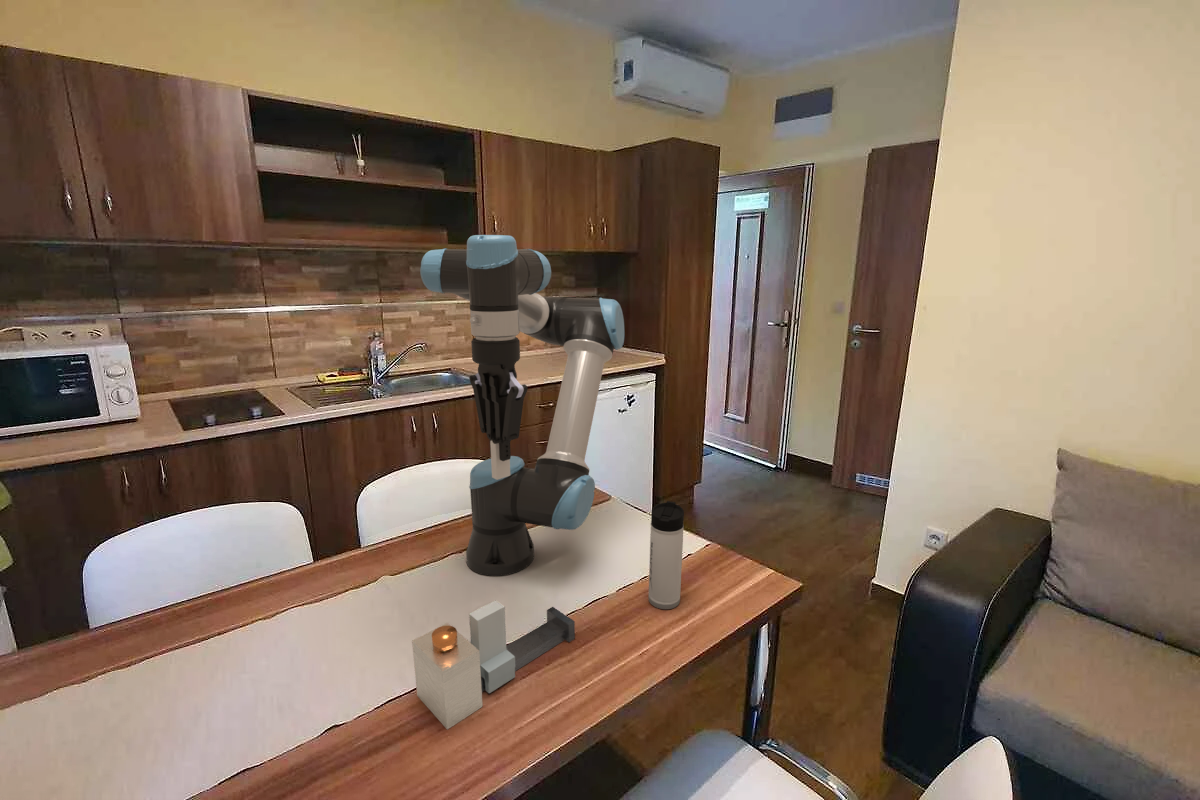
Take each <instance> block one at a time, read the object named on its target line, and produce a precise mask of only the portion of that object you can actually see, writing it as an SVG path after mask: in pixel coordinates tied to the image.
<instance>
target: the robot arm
mask: <svg viewBox="0 0 1200 800" xmlns="http://www.w3.org/2000/svg"><path fill="white" fill-rule="evenodd" d="M517 246H518V245H517V241H516V239H515V237H514V236H512V235H507V234H506V235H505V234H504V235H503V234H475V235H474V234H473V235H471V236H470V237H469V238H468V239H467V241H466V249H465V248H462V249H461V248H460V249H459V248H457V249H455V248H454V249H453V248H442V249H431V250H429V251H427V252H426V253H425V254H424V255H423V256H422V258H421V262H420V269H419V270H420V271H419V272H420V273H419V274H420V278H421V281H422V283H423V285H424V287H426V289H427V290H428V291H430V292H433V293H434V292H435V293H441V294H448V293H449V294H453V295H455V296H458V297H459V298H462V299H464V300H466V301H468V302H469V314H470V318H469V323H470V334H471V335H472V336H473V338H472V340H471V341H470V342H471V343H470V345H471V360H472V361H473V363H475V364H478V366H477V373H476V374H472V375H470V376H469V382H470V385H471V387H472V390H473V396H474V401H475V406H476V412H477V416H478V423H479V428H480V432H481V433H482V434H486V437H487V439H488V440H489V454H490V458H489V459H485V460H483V461H479V463H477V464H475V465H474V466H473V467H472V469H471V471H470V473H469V486H468V487H469V490H470V504H471V506H470V507H471V522H472V523H471V524H472V531H471V533H470V537H469V541H468V546H467V548H466V552H465V557H466V558H465V559H466V561H465V562H466V565H467V567H468V568H469V569H471V571H472V572H475V573H477V574H481V575H484V576H494V577H495V576H496V577H497V576H499V577H500V576H506V575H507V576H508V575H510V574H514V573H518V572H521V571H522V570H524V569H526V568H527V567H528V566H530V564H532V562H533V561H534V559H535V545H534V542H533V540H532V537H531V535H530V532H529V530H528V527H527V525H526V524H530V525H534V526H535V525H536V526H541V527H547V528H553V529H554V530H569V531H573V530H576V529H578V528H580V527H581V526H582V525H583V523H584V522H586V519H587V517H588V516H589V513H590V511H591V508H592V506H593V502H594V498H595V489H596V484H595V483H596V482H595V480H594V478H593V477H592V476H591V475H590V467H589V466H588V465H587V464H586V462H585V459H586V453H587V449H588V445H589V440H590V434H591V430H592V424H593V421H594V417H595V411H596V405H597V399H598V395H599V390H600V385H601V380H602V376H603V371H604V367H605V363H607V362H609V361H610V360H612V358H613V353H614V350H615V351H618V350H621V349H622V348H623V346H624V342H625V319H624V314H623V309H622V307H621V304H620V303H619V302H618V301H617V300H616V299H613V298H612V299H611V298H602V297H599V298H591V297H590V298H589V297H567V296H566V297H565V296H563V297H562V296H555V297H554V296H543V295H541V294H539V292H541V291H543V290H544V289H545V288H546V287H547V286H548V285H549V283H550V281H551V278H552V268H551V264H550V261H549V259H548V258H547V257H546V256H545V255H544V254H543V253H541V252H539V251H538V250H533V249H531V248H523V249H521V248H520V249H518V247H517ZM520 333H523V334H524V335H527V336H528V337H531V338H533V339H536V340H538V341H541V342H544V343H546V344H548V345H549V344H550V345H553V346H562V347H563V351H564V352H565V353H566V355H567V357H566V358H567V359H566V362H565V367H564V372H563V375H562V380H561V385H560V389H559V393H558V396H557V397H558V398H557V401H556V402H557V403H556V407H555V411H554V416H553V420H552V425H551V429H550V433H549V438H548V442H547V446H546V451H545V453H544V454H542V455H540V456H539V457H538V458H537V459H536V463H535V467H534V468H531V467H525V465H526V464H525V462H524V459H523V458H521V457H520V456H515V455H512V454H511V441H513V440H516V439H519V438H520V430H521V423H522V417H523V416H522V414H523V407H524V399H525V397H526V395H527V392H528V390H529V389H528V385H526V384H521V383H520V382H519V380H517V378H518V374H517V371H516V368H515V367H516V366H515V365H516V363H517V362H519V361H520V359H521V349H520V348H521V347H520V344H521V343H520V339H519V338H518V337H516V336H518V335H520Z"/></svg>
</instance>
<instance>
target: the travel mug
mask: <svg viewBox="0 0 1200 800" xmlns="http://www.w3.org/2000/svg"><path fill="white" fill-rule="evenodd" d="M676 503H677V502H675V501H669V500H667V501H666V502H662V503H658V504H656V505H655V506H653V507H652V508H651V511H650V512H651V516H650V517H651V518H650V537H649V538H650V540H649V543H650V544H649V570H648V572H649V573H648V598H647V599H648V602H649V603H650V604H651V606H654V607H655V608H657V609H660V610H671V609H675V608H676V607H678V606H679V604H680V602H681V589H682V587H681V586H682V585H681V584H682V564H683V547H684V546H683V544H684V527H685V526H684V519H685V518H684V517H685V511H684V510H685V509H683V507H682V506H680V505H679V504H676Z"/></svg>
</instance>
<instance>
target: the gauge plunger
mask: <svg viewBox="0 0 1200 800" xmlns="http://www.w3.org/2000/svg"><path fill="white" fill-rule="evenodd" d="M440 626H441V627H440ZM440 626H439V628H438V627H437V629H436V628H434V629H435V630H434V629H433V630H434V631H433V633H432V645H433V648H434V649H436V650H438V651H440V652H441V653H444V652H446V651H448V650H449V649H451V648H453V647H454V646H455V645H456V644H457V641H458V640H457V631H458V630H457V628H456V627H455V626H453V625H451V626H442V625H440Z"/></svg>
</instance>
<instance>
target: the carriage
mask: <svg viewBox="0 0 1200 800" xmlns="http://www.w3.org/2000/svg"><path fill="white" fill-rule="evenodd" d="M505 608H506V606H504V605H503V604H502V603H500V602H499V601H498V600H496V599H495V600H494V601H491V602H489V603H488V604H486V605H483V606H482V607H480V608H478V609H475V610H474V611H472V612H470V613H468V615H469V617H468V618H469V619H468V620H469V630H470V631H469V632H470V635H469V636H470V643H471V644H472V645H474V646H475V647H476V648H477V649H478V650H479V654H480V671H481V676H482V677H483V678H484V679H485V692H486V693H488V694H491V693H492V692H494V691H496V690H497V689H498V688H500V687H503V686H504V685H505V684H506V683H508V682H509V681H511V680H513V679H515V678H516V671H515V656H514V655H512V654H511V653H510V652H509V651H508V650H507V649H506V646H507V631H506V611H505V610H506V609H505Z"/></svg>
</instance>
